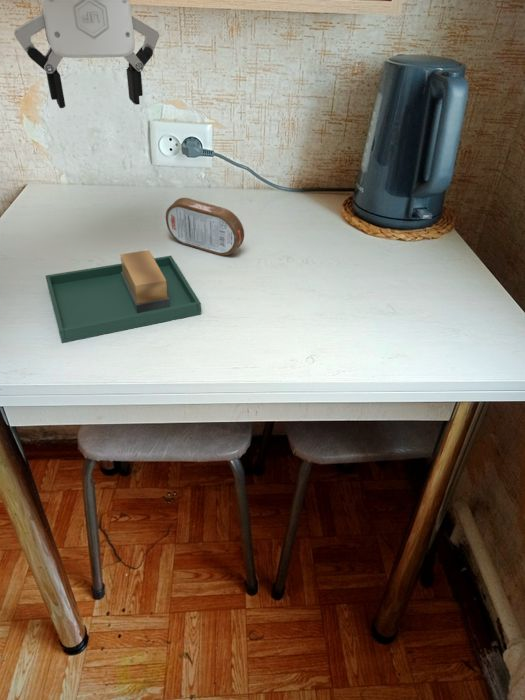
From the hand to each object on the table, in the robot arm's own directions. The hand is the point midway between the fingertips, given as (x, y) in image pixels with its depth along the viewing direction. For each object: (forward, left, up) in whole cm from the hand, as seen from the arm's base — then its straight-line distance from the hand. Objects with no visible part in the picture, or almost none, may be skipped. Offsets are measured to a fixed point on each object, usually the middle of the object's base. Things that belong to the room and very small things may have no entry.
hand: (98, 103), depth 68 cm
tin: (+16, +4, -26) cm, 31 cm away
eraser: (+2, -8, -26) cm, 27 cm away
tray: (-2, -8, -26) cm, 28 cm away
